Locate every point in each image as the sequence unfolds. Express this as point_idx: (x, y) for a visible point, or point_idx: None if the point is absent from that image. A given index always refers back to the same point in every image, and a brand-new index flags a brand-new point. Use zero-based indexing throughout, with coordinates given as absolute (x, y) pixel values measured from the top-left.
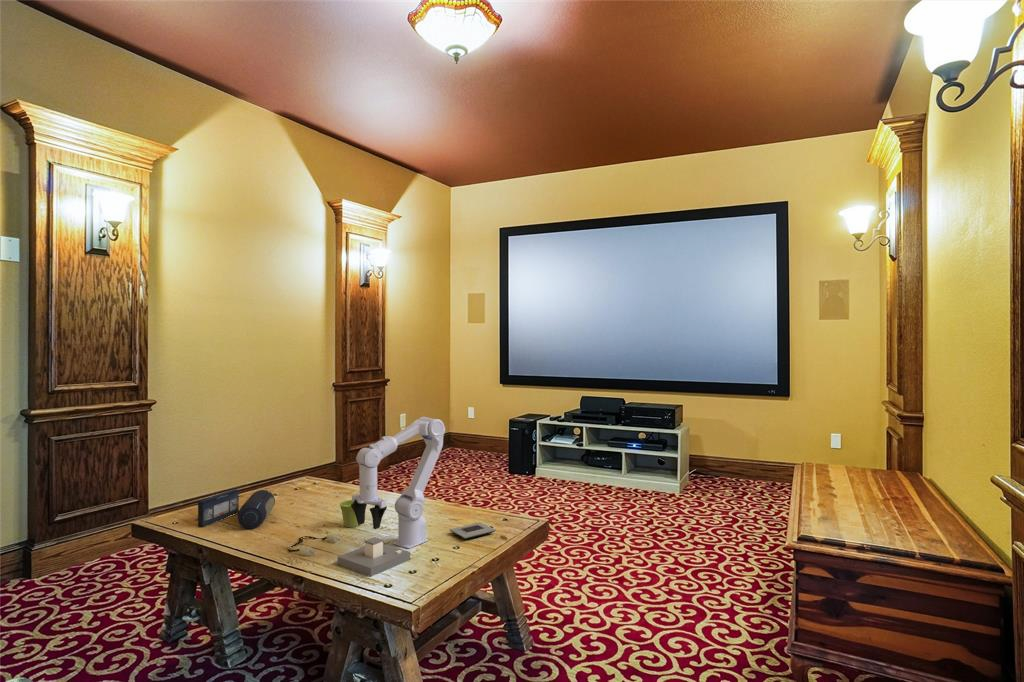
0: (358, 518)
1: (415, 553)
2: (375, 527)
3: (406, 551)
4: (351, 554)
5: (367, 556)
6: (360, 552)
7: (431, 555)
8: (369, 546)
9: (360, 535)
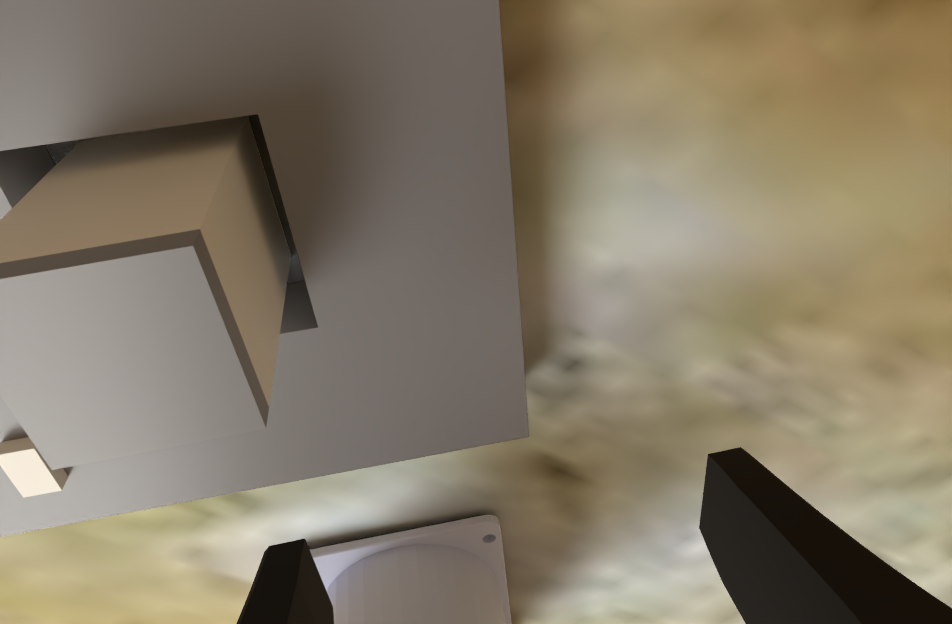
0: (787, 549)
1: (156, 550)
2: (260, 580)
3: (18, 520)
4: (385, 12)
5: (172, 155)
6: (364, 153)
7: (20, 610)
8: (76, 233)
9: (894, 420)
